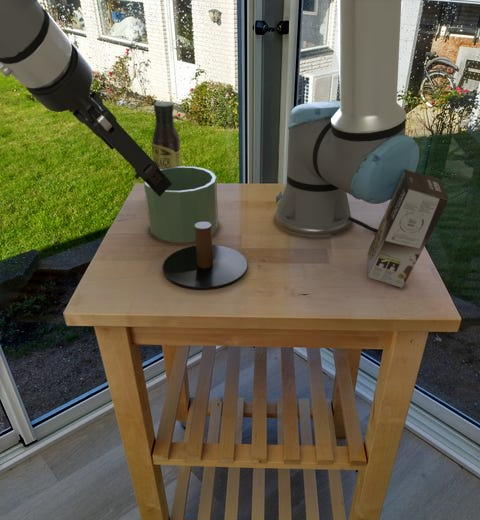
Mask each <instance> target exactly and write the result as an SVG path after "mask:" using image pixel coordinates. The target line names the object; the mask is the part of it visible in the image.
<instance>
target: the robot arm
mask: <svg viewBox="0 0 480 520" xmlns="http://www.w3.org/2000/svg"><path fill="white" fill-rule="evenodd" d="M402 1H403V0H337V23H338V25H337V26H338V30H337V31H338V67H339V68H338V69H339V100H327V101H325V100H324V101H315V102H305V103H301V104H298V105H296V106H294V107H293V109H291V112H290V115H289V122H288V126H287V127H288V128H287V130H288V145H287V147H288V148H287V165H286V166H287V167H286V169H287V170H286V185H285V187H284V189H283V191H280V192H279V193H278V194H277V196H276V197H275V204H277V203H278V205H277V208H276V212H275V220H276V222H277V224H278V225H279V226H280V227H282V228H283V229H284V230H287V231H288V232H292V233H295V234H300V235H306V236H328V235H330V236H334V235H338V234H341V233H343V232H344V231H346V230H347V229H348V228H349V227H350V224H351V222H352V223H354V224H356V225H359V226H360V227H363V228H364V229H366V230H368V231H370V232H373V233H375V234H376V233H377V230H378V228H376V227H372V226H370V225H368V224H366V223H365V222H363V221H360V220H358V219H356V218H354V217H352V214H351V208H350V203H349V199H348V194H349V195H351V196H352V197H353V198H354V199H356V200H361V201H363V202H365V203H368V204H370V205H371V204H372V205H380V204H383V203H384V204H385V203H386V202H390V201H391V198H392V196H393V194H394V192H395V189H396V187H397V185H398V183H399V180H400V178H401V176H402V174H403V172H404V170H408V171H411V172H414V173H416V170H417V169H418V165H419V160H420V148H419V145H418V142H416V141H415V140H414V139H413V137H412V136H409V135H408V134H406V122H407V112H406V110H405V109H404V108H403V107H402V106H401V105H400V104H399V103H398V81H399V63H400V61H399V60H400V40H401V18H402ZM0 65H2V66H1V68H0V72H1V74H2V75H3V76H5V77H9V76H10V75H12V76H13V77H14V78H15V80H17V81H18V82H19V83H20V84H21V85H23V86H24V87H25V88H26V90H27V91H28V92H29V93H30V94H31V95H32V96H33V97H34V98H35V99H36V100H38V102H39V103H40V104H41V105H42V106H43V107H45V108H46V109H47V110H48V111H51V112H54V113H63V112H67V111H68V112H69V113H71V114H72V115H73V116H74V118H75V119H76V120H78V121H79V122H80V123H81V124H84V125H85V126H86V127H87V128H88V129H89V130H90V131H91V132H92V133H93V134H94V135H95V136H96V137H97V138H100V139H101V140H102V141H103V142H104V143H105V144H106V145H107V147H108V148H109V149H110V150H112V151H113V150H115V151H116V152H117V153H118V154H119V155H120V156H121V157H122V158H123V159H124V160H125V161H126V162H127V163H128V164H129V165H130V166H131V167H132V168H133V169H134V172H135V174H134V175H133V178H135V179H136V180H138V179H140V178H141V179H142V180H143V182H144V181H145V182H146V183H147V184H148V185H149V186H150V187H151V189H152V190H153V191H154V192H155V193H156V194H157V195H158V196H159V197H160V196H161V195H162V194H163V193H164V192H165V191H166V190H167V189H168V188H169V187H170V186H171V185H172V183H171V182H170V181H169V180H168V178H167V177H166V176H165V175H164V174H163V173H162V171H161V170H160V169H159V168H158V165H157V163H156V162H154V161H153V158H151V157H150V156H149V155H148V154H147V152H146V151H144V149H143V148H142V147H141V146H140V145H139V144H138V143H137V142H136V140H134V138H133V137H132V136H131V135H130V134H129V133H128V132H127V131H126V130H125V129H124V128H123V127H122V125H121V124H120V123H118V121H117V117H116V116H115V114H113V113H112V112H111V111H110V110H109V109H108V107H107V106H106V105H105V104H104V102H103V99H102V98H101V97H100V96H99V95H98V94H97V93H96V92H95V91H94V90H93V91H92V89H91V88H92V85H93V81H94V79H93V78H94V74H93V70H92V67H91V65H90V64H89V62H88V61H87V60H86V59H85V58H84V57H83V55H82V54H81V52H80V51H79V50H78V49H77V48H76V46H75V45H74V44H73V43H72V42H71V40H70V39H69V37H68V36H67V35H66V33H65V32H64V31H63V30H62V28H61V27H60V26H59V25H58V24H57V23H56V21H55V20H54V19H53V18H52V16H51V15H50V14H49V12H48V11H47V10H46V9H45V8H44V7H43V6H42V5H41V3H40V2H39V1H38V0H0Z"/></svg>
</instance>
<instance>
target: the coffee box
mask: <svg viewBox="0 0 480 520" xmlns="http://www.w3.org/2000/svg"><path fill="white" fill-rule="evenodd" d="M449 202H450V199H449V196H448V194H447V191H446V189H445V186H444V184H443V182H442V179H441V178H437V177H435V176H430V175H427V174H422V173H419V172H415V173H414V172H411V171H408V170H404V172H403V174H402V176H401V178H400V180H399V183H398V185H397V187H396V189H395V192H394V194H393V196H392V198H391V200H389V203H388V205H387V208H386V210H385V212H384V215H383V216H382V219H381V222H380V223H379V226H378V227H377V229H378V230H377V233H376V232H375V235H374V237H373V239H372V242H371V244H370V246H369V248H368V251H367V278H369V279H373V280H376V281H379V282H383V283H386V284H389V285H392V286H395V287H397V288H403V287H404V286H405V284H406V282H407V280H408V279H409V276H410V275H411V272H412V271H413V270H414V267H415V265H416V263H417V262H418V259H419V258H420V256H421V254H422V253H423V250H424V248H425V247H426V245H427V243H428V241H429V239H430V237H431V235H432V233H433V232H434V230H435V228H436V227H437V224H438V222H439V220H440V219H441V217H442V215H443V213H444V211H445V209H446V207H447V205H448V203H449Z"/></svg>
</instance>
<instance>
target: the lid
mask: <svg viewBox="0 0 480 520" xmlns="http://www.w3.org/2000/svg"><path fill="white" fill-rule="evenodd" d="M247 271H248V261H247V259H246V257H245V256H244V255H243V254H242V253H241V252H239V251H237V250H236V249H233V248H231V247H227V246H224V245H217V244H213V233H212V227H211V223H209V222H198V223H196V224H195V245H192V246H187V247H184V248H181V249H179V250H176V251H174V252H173V253H172V254H170V255H169V256H168V257H167V258H166V259H165V260H164V261H163V264H162V274H163V276H164V277H165V279H166V280H167V281H168V282H170V283H171V284H173V285H175V286H177V287H180V288H182V289H188V290H193V291H212V290H218V289H223V288H226V287H229V286H232V285H234V284H236V283H237V282H239V281H240V280H242V279H243V278H244V276H245V275H246V273H247Z"/></svg>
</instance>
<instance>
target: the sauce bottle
mask: <svg viewBox="0 0 480 520" xmlns="http://www.w3.org/2000/svg"><path fill="white" fill-rule="evenodd" d="M153 110H154V113H155V125H154V126H155V127H154V130H153V131H154V132H153V135H152V140H151V141H152V142H151V151H152V153H151V154H152V160H153V161H154V162H156V163H157V165H158V168H159V169H164V168H169V167H178V166H182V155H181V144H180V143H181V142H180V135H179V132H178V131H177V130H176V127H175V125H174V123H175V122H174V110H175V109H174V103H173V102H170V101H166V100H165V101H163V100H162V101H156V102H154V103H153Z"/></svg>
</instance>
